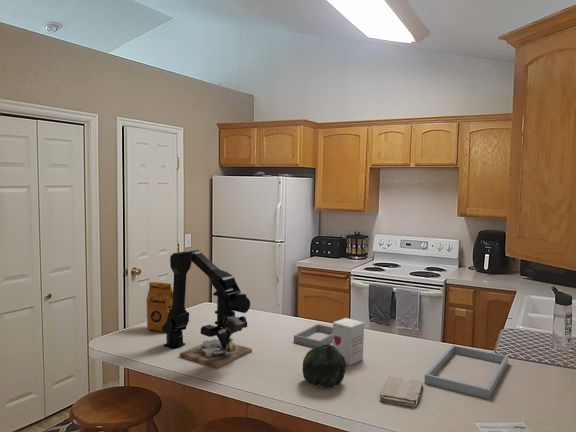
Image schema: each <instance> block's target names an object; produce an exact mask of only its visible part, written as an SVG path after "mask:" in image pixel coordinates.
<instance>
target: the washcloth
mask: <svg viewBox="0 0 576 432" xmlns="http://www.w3.org/2000/svg"><path fill="white" fill-rule="evenodd" d="M423 385H424V382H423V380H419V379H413V378H412V379H411V378H410V379H407V378H403V377H399V376H391V375H390V376H389V377H388V378H387V380H386V382H385V384H384V386H383V388H382V390H380V391H381V392H380V394H379V397H380V398H379V402H383V401H384V403H387V404H390V403H392V404H391V405H395V404H399V405H398V406H401V405H404V406H403V407H406V406H409V407H408V408H415V407H417V405H416V401H417V400H418V397H419V395H420V396H421V394H420V391H421V392H422V390H421V388H422V389H423ZM419 398H420V397H419Z"/></svg>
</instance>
